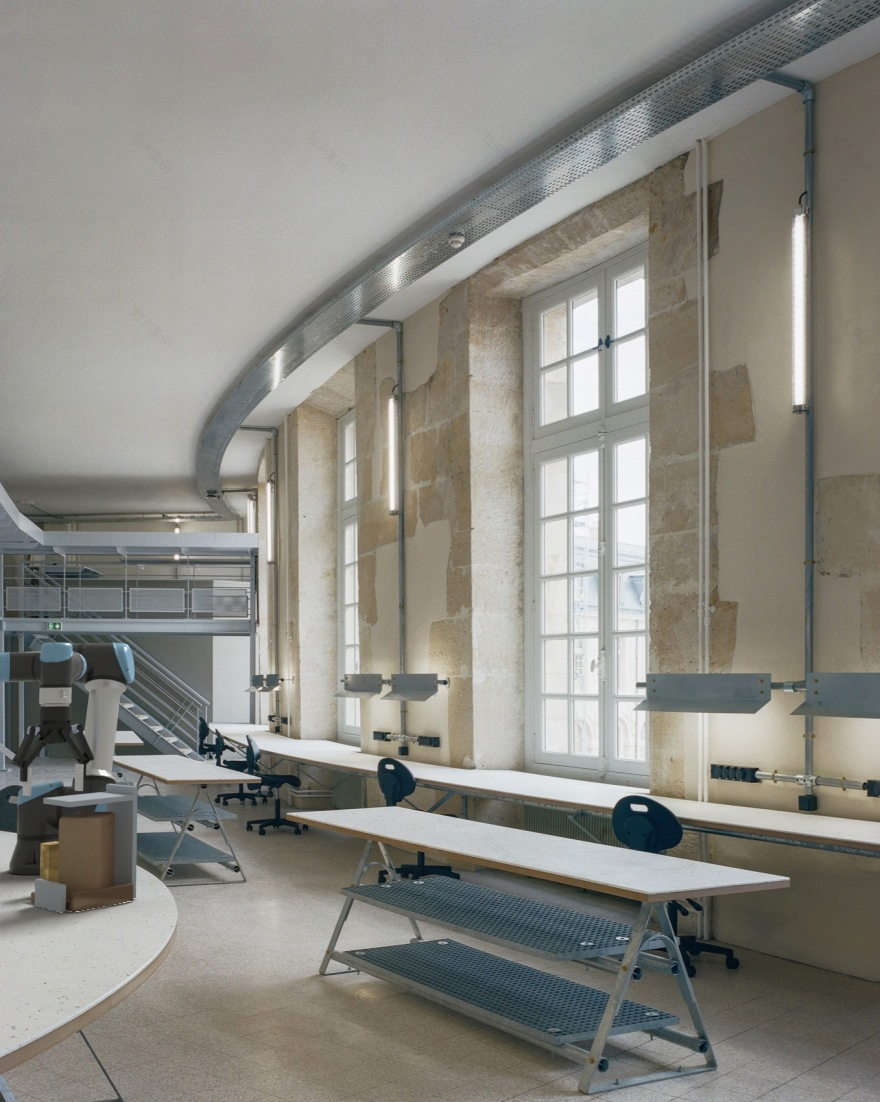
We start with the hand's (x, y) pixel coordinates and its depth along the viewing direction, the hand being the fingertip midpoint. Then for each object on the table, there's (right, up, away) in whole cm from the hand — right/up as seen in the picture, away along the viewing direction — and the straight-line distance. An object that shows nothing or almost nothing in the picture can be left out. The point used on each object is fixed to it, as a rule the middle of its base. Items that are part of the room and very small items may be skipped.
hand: (53, 793), depth 270 cm
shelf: (+12, -23, -13) cm, 29 cm away
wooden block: (+12, -23, -13) cm, 29 cm away
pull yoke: (+8, -23, -10) cm, 26 cm away
